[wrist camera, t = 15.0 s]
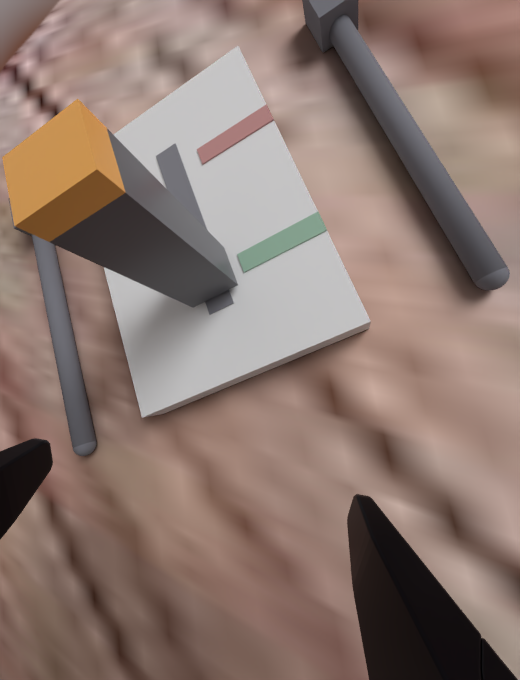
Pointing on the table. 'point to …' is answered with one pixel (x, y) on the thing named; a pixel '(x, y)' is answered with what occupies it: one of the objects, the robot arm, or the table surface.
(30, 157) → the breaker lever
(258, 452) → the table surface
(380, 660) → the robot arm
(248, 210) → the breaker panel
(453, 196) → the pair of grey rods
